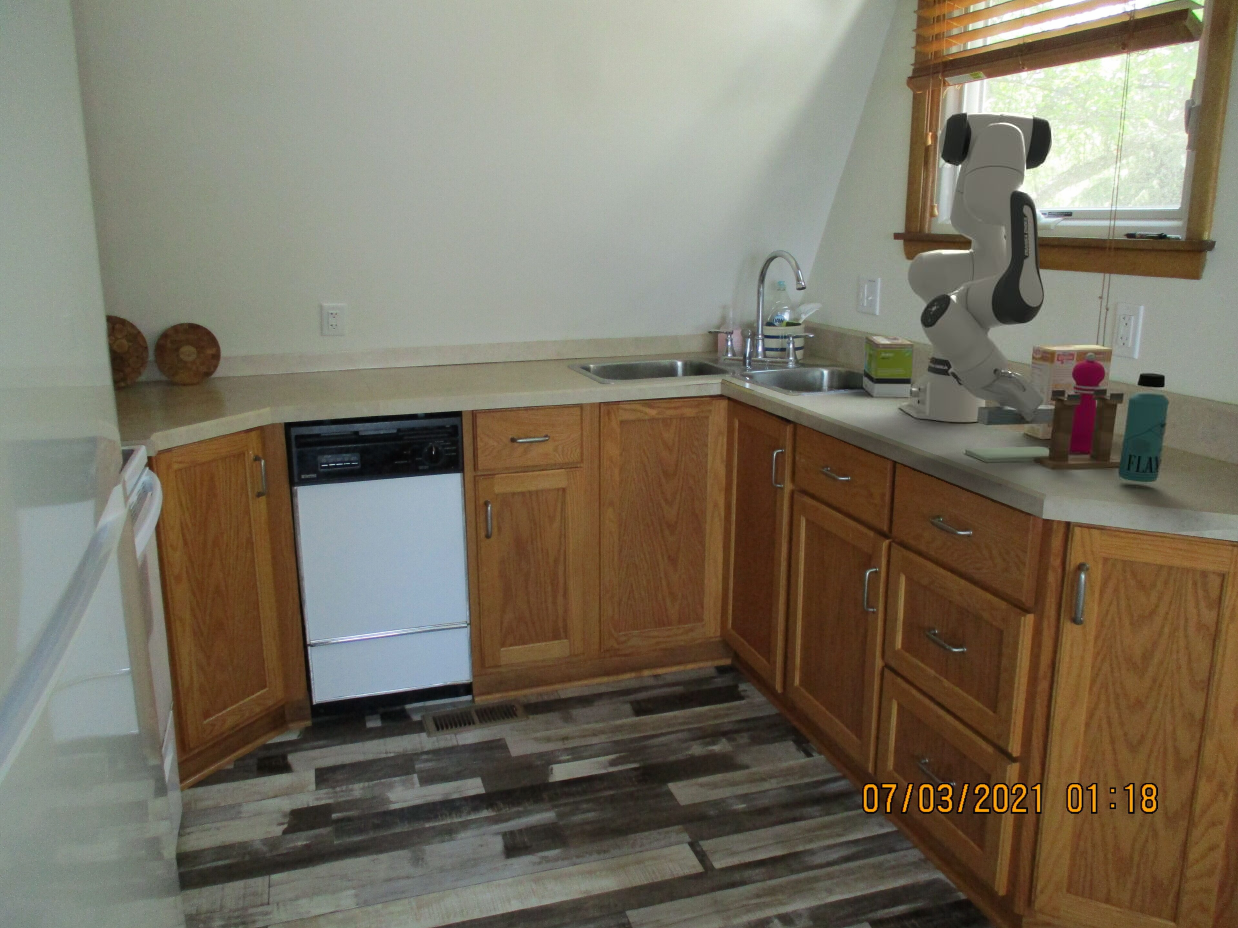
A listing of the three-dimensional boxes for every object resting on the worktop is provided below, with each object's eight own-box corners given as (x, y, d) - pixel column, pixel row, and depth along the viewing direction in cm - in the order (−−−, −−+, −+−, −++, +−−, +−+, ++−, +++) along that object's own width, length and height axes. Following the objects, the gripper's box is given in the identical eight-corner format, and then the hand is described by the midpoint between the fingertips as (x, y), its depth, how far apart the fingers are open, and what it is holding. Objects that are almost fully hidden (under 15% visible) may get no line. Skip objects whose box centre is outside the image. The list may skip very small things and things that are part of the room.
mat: (964, 453, 197) (965, 449, 197) (1040, 450, 200) (1041, 446, 200) (986, 462, 189) (987, 458, 189) (1065, 459, 192) (1065, 455, 192)
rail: (976, 421, 193) (978, 406, 192) (1049, 420, 196) (1051, 405, 195) (986, 425, 190) (988, 410, 189) (1060, 423, 193) (1062, 408, 192)
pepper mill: (1087, 446, 204) (1099, 350, 200) (1105, 454, 197) (1118, 355, 192) (1053, 446, 204) (1064, 350, 199) (1069, 454, 197) (1082, 355, 192)
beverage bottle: (1117, 488, 172) (1133, 375, 167) (1114, 479, 178) (1129, 370, 173) (1159, 492, 169) (1177, 377, 164) (1154, 483, 175) (1170, 372, 171)
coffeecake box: (1081, 431, 220) (1092, 344, 215) (1102, 437, 213) (1114, 348, 209) (1021, 433, 217) (1031, 345, 212) (1041, 439, 210) (1052, 349, 206)
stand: (1034, 461, 190) (1042, 389, 187) (1102, 459, 193) (1112, 388, 190) (1053, 469, 184) (1062, 395, 181) (1123, 466, 187) (1133, 393, 184)
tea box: (861, 388, 274) (865, 335, 271) (897, 389, 274) (901, 336, 270) (872, 397, 260) (876, 341, 256) (910, 398, 259) (915, 342, 256)
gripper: (1025, 362, 178) (1067, 413, 183) (965, 349, 198) (1004, 396, 202) (1001, 386, 179) (1043, 437, 183) (943, 371, 198) (982, 417, 202)
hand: (1022, 415), depth 193 cm, fingers closed on rail, 3 cm apart
